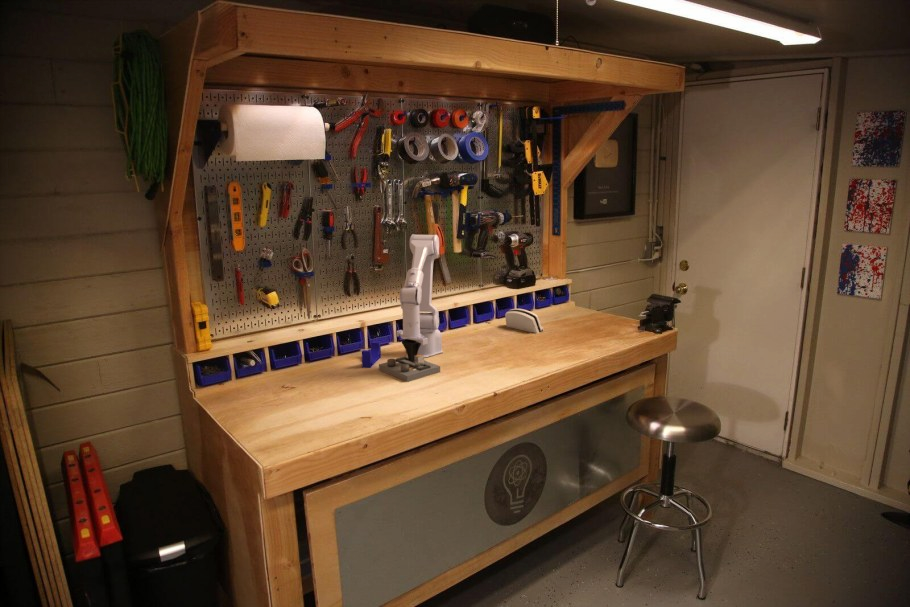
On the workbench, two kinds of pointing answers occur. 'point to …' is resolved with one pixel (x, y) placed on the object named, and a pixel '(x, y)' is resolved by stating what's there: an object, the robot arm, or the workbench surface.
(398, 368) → the console board
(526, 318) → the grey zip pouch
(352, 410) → the workbench surface
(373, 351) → the blue block
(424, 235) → the robot arm
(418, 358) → the fader tab
